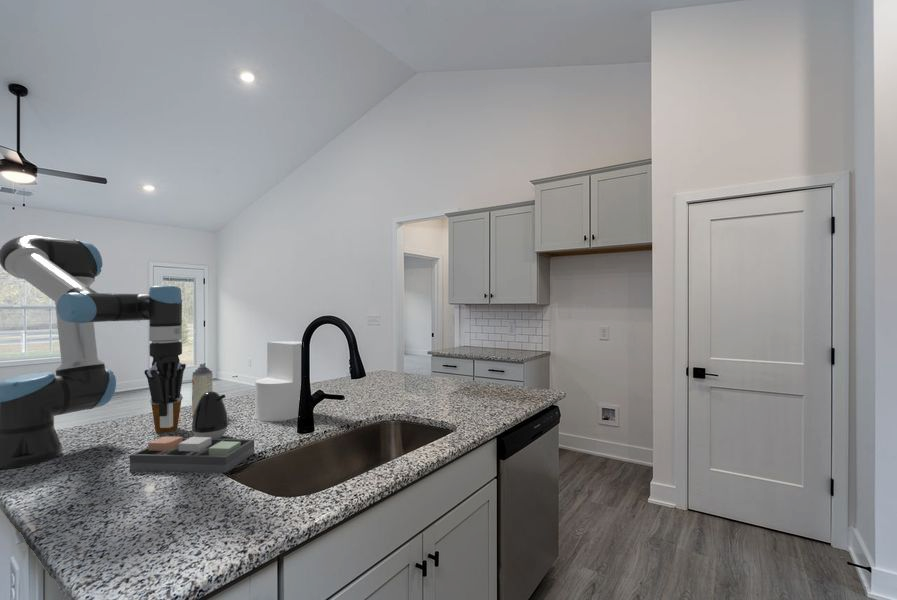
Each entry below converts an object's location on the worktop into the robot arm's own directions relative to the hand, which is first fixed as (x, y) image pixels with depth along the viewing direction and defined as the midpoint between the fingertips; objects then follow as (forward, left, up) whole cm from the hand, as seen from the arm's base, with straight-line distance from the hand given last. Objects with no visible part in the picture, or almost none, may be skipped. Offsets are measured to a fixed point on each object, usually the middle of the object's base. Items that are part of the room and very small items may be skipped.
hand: (166, 426), depth 117 cm
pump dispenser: (0, +19, -10) cm, 21 cm away
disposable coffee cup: (-21, +27, -10) cm, 35 cm away
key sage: (+17, 0, -7) cm, 18 cm away
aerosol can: (-21, +46, -10) cm, 51 cm away
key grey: (+8, 0, -6) cm, 10 cm away
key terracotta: (0, 0, -6) cm, 6 cm away
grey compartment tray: (+8, 0, -9) cm, 12 cm away
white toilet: (+9, +48, -10) cm, 50 cm away
